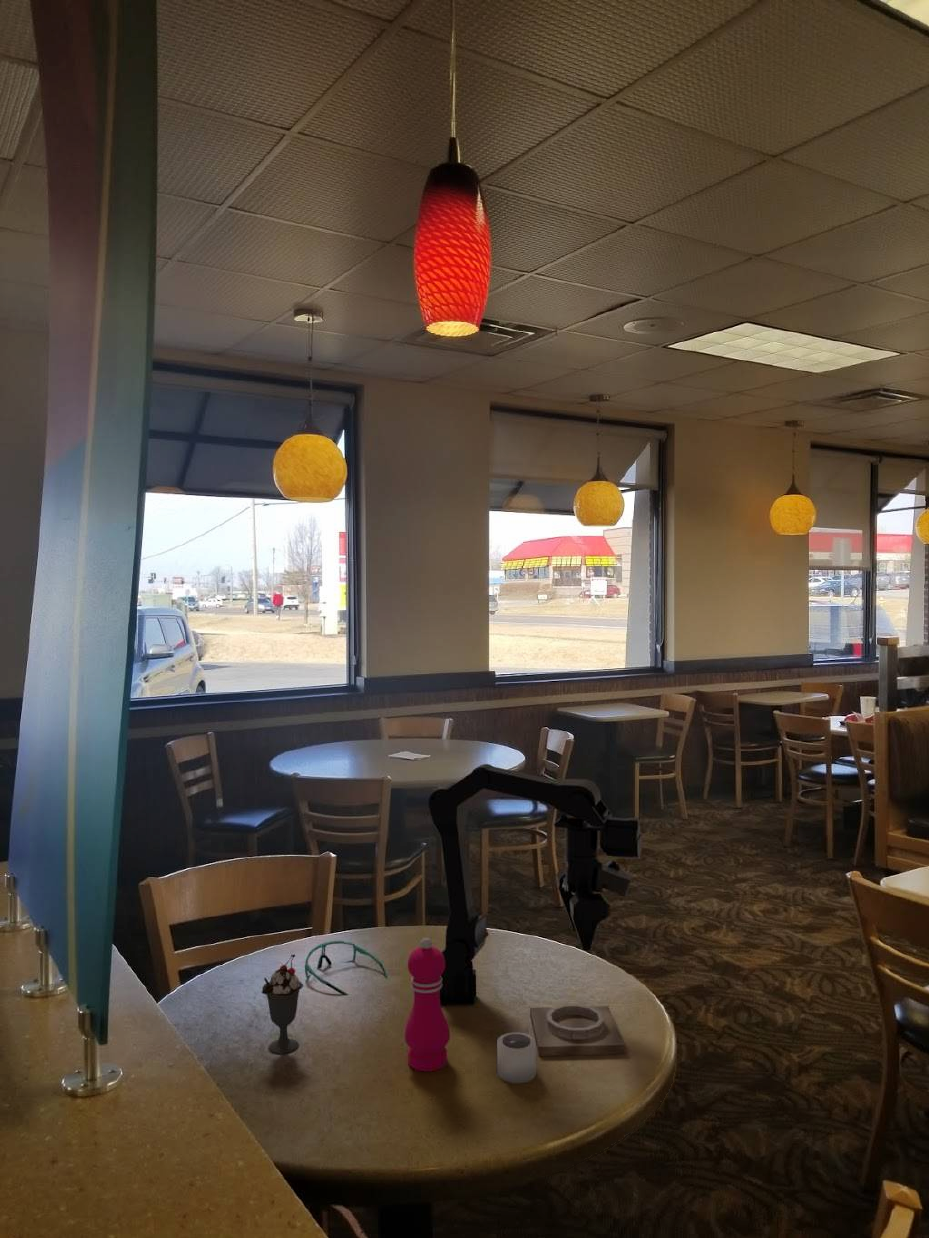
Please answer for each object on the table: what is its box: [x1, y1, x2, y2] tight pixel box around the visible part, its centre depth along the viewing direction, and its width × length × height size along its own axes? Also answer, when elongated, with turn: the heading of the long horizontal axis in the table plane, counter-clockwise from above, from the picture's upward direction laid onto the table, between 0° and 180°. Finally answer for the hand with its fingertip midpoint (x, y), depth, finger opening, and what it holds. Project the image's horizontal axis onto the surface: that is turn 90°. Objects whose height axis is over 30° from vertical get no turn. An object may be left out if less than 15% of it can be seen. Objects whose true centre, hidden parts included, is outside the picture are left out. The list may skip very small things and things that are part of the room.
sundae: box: [261, 954, 304, 1055], centre depth 150 cm, size 7×7×15 cm
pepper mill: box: [404, 937, 451, 1072], centre depth 144 cm, size 7×7×20 cm
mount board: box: [529, 1003, 626, 1057], centre depth 153 cm, size 14×14×3 cm
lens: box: [496, 1032, 537, 1084], centre depth 141 cm, size 6×6×5 cm
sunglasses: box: [304, 940, 389, 996], centre depth 178 cm, size 14×15×5 cm
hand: (581, 940), depth 160 cm, fingers open, 9 cm apart
